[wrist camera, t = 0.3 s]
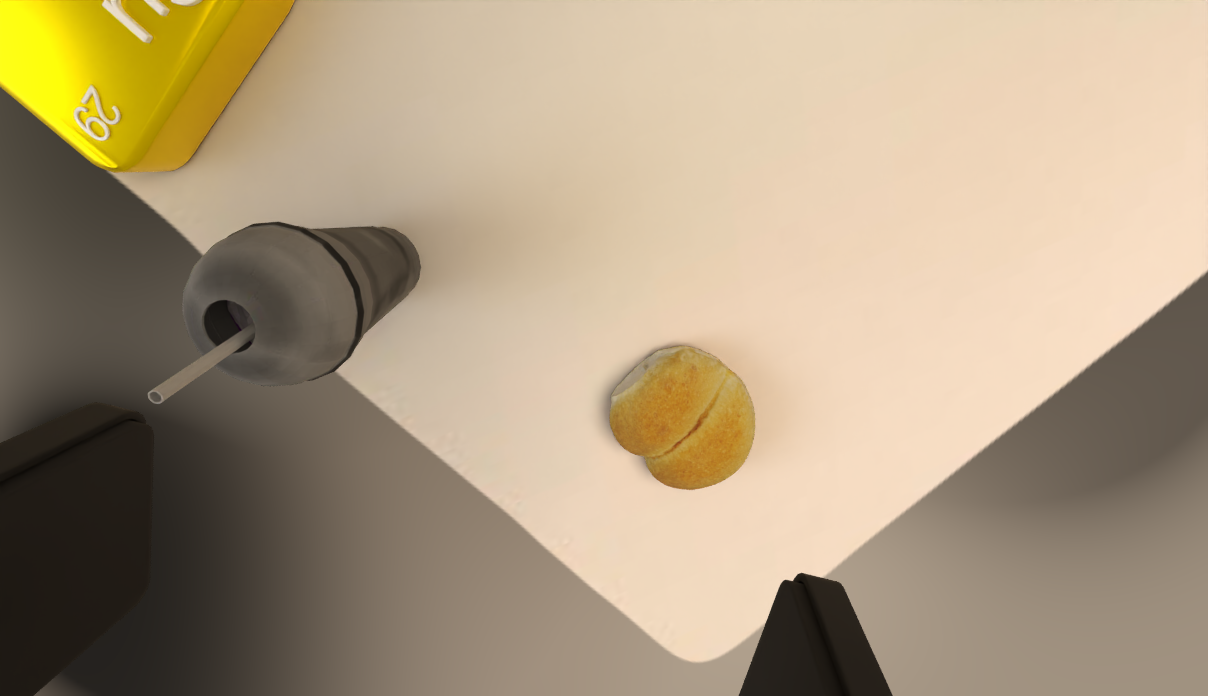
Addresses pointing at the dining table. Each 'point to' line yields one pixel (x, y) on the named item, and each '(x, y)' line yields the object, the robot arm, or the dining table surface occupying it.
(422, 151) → the dining table surface
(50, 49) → the element tile
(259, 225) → the beverage cup
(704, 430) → the bread roll
